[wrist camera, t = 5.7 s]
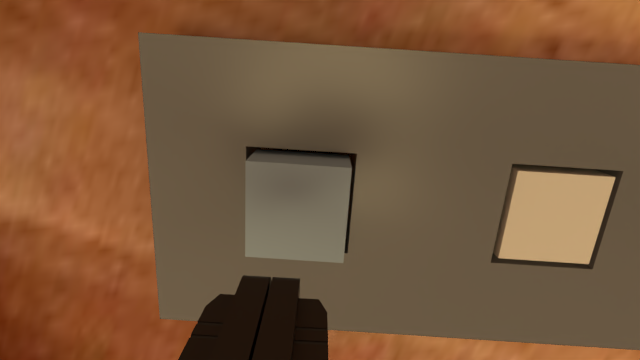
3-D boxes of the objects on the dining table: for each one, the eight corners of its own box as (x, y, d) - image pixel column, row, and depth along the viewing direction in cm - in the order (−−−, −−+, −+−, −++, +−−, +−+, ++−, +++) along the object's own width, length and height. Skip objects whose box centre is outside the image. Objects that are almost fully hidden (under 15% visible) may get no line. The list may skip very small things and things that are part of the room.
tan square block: (579, 164, 18) (615, 177, 16) (558, 241, 20) (588, 264, 17) (494, 158, 18) (518, 170, 16) (478, 236, 20) (498, 258, 17)
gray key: (348, 155, 17) (352, 167, 15) (341, 239, 18) (343, 263, 16) (256, 149, 17) (245, 161, 15) (255, 233, 18) (245, 256, 16)
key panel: (675, 73, 19) (764, 73, 15) (599, 304, 23) (654, 351, 19) (176, 40, 19) (138, 32, 15) (188, 277, 23) (160, 318, 19)
